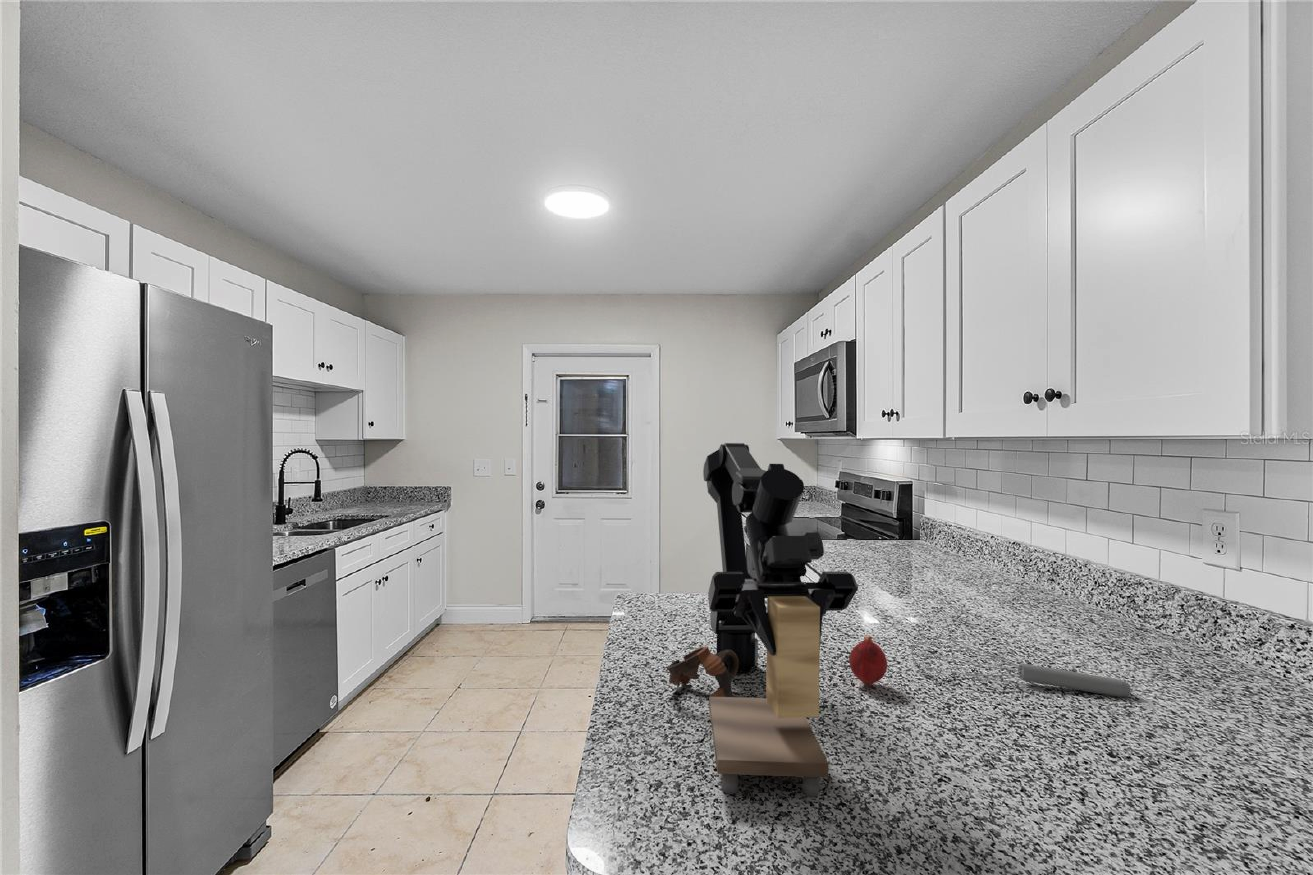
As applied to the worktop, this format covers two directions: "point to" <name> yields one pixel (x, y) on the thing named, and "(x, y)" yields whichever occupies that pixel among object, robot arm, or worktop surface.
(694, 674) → the brown jagged curved piece
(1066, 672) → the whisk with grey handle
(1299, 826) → the worktop surface
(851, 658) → the onion
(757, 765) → the footed wooden board
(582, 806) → the worktop surface
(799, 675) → the wooden block
